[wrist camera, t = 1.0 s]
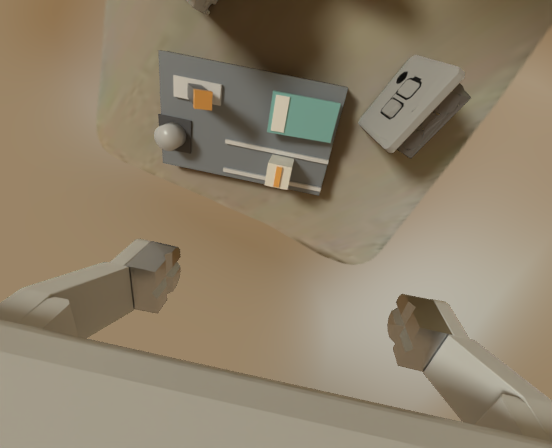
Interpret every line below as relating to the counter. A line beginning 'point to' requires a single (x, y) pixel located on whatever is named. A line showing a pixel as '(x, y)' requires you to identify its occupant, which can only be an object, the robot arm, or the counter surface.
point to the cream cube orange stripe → (279, 171)
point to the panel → (240, 120)
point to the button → (170, 136)
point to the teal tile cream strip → (302, 116)
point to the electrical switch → (415, 105)
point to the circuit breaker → (202, 5)
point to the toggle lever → (199, 96)
